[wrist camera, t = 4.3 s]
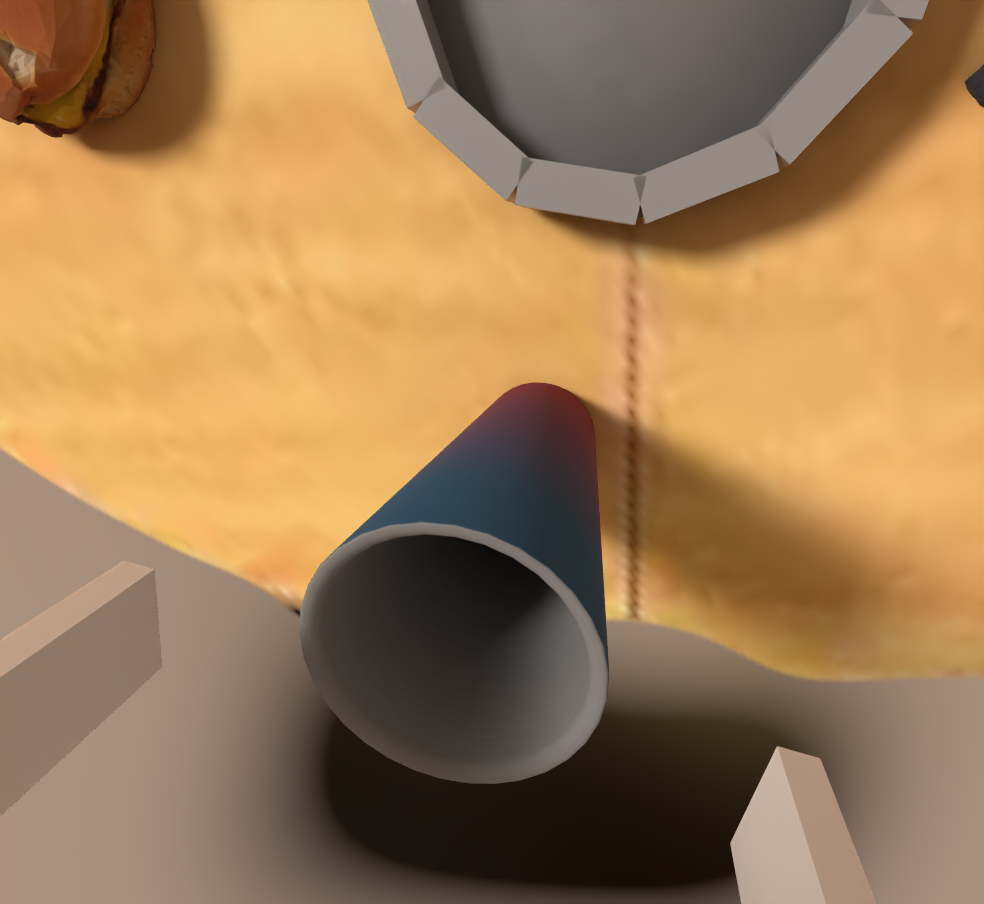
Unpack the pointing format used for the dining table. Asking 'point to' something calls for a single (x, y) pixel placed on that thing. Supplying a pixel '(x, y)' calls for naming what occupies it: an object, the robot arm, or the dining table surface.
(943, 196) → the dining table surface
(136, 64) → the burger
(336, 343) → the dining table surface
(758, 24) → the tray
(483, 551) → the cup
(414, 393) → the dining table surface
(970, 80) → the dark slate chunk
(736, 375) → the dining table surface
